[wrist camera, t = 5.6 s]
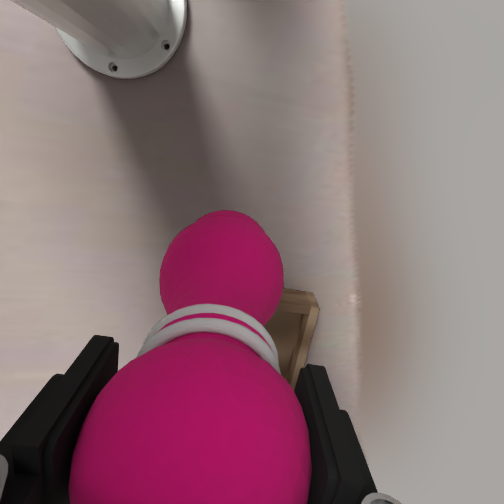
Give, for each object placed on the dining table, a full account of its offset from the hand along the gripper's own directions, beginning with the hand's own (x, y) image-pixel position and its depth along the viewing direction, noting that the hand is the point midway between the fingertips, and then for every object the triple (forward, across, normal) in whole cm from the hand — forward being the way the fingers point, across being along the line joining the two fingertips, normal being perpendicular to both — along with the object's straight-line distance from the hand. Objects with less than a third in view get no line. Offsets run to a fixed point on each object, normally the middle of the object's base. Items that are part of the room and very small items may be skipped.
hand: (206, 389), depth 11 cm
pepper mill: (+14, 0, 0) cm, 14 cm away
